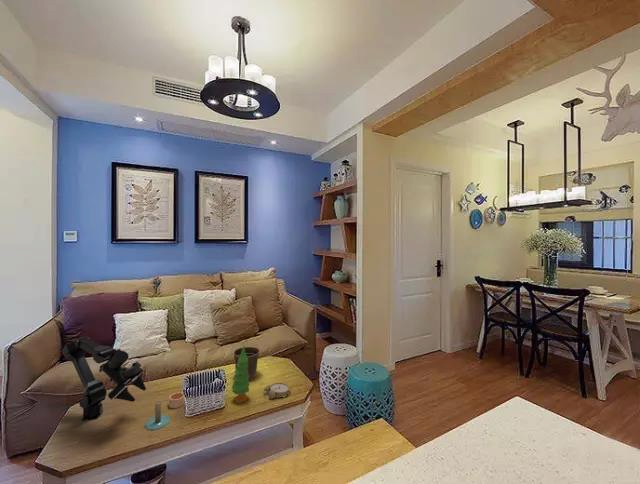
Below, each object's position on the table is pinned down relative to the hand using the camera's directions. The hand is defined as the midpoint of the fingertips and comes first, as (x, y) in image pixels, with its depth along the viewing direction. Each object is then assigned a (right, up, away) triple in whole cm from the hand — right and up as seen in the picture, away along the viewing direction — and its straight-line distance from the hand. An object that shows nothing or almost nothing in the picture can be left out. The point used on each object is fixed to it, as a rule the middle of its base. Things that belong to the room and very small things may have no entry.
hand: (140, 395), depth 134 cm
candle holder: (+60, -15, +28) cm, 67 cm away
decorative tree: (+41, -14, +22) cm, 48 cm away
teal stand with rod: (+8, -14, +1) cm, 16 cm away
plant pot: (+38, -14, +46) cm, 61 cm away
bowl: (+9, -13, +16) cm, 23 cm away
